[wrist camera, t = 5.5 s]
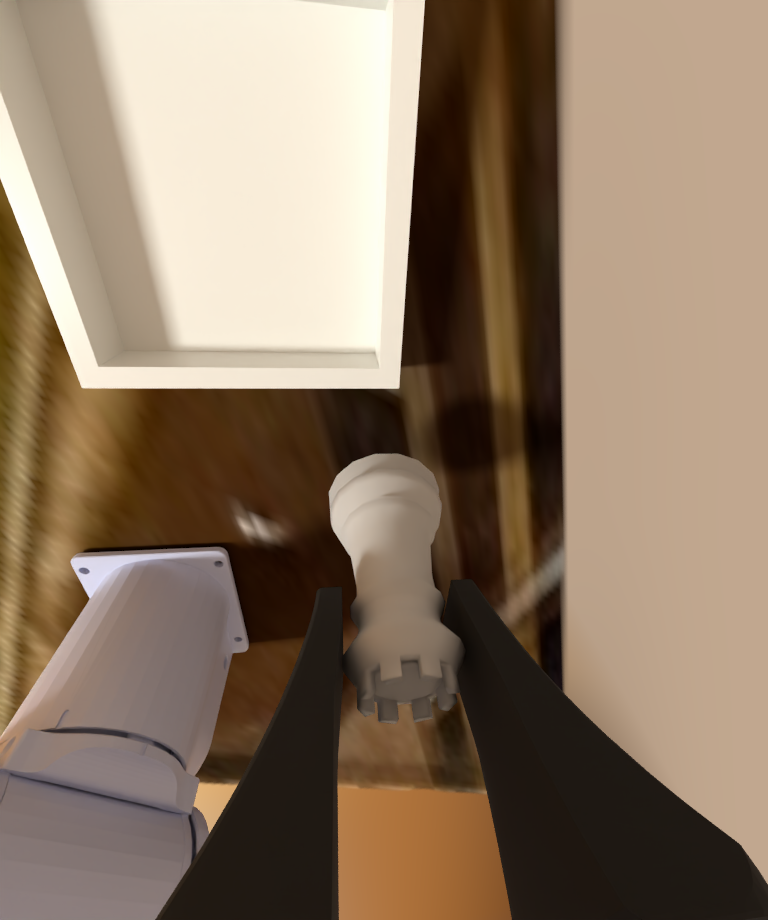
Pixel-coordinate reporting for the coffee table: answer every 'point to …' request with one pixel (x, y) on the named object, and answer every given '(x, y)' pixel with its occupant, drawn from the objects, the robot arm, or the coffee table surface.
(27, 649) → the coffee table surface
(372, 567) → the rook chess piece
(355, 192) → the tray
